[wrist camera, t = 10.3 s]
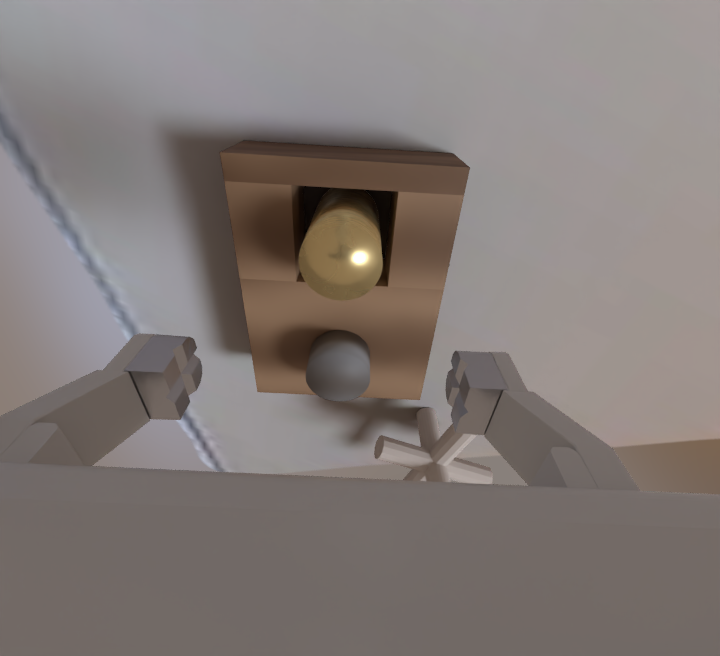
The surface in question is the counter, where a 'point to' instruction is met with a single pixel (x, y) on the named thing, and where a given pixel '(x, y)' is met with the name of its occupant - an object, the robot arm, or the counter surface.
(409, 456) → the pipe connector
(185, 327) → the counter surface
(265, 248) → the jig
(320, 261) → the tan cylinder
